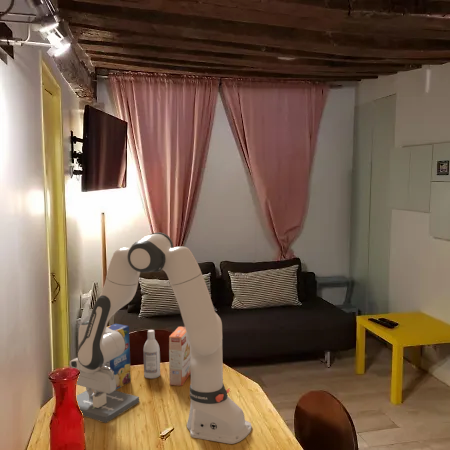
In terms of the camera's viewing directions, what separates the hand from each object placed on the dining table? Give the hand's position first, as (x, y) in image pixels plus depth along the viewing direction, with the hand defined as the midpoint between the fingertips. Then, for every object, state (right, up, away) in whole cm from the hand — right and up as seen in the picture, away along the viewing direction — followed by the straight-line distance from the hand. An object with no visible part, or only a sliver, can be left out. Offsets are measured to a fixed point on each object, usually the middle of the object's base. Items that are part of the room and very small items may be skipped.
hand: (93, 399), depth 181 cm
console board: (+2, -4, +3) cm, 5 cm away
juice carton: (+3, -2, +21) cm, 21 cm away
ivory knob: (+3, -2, -1) cm, 3 cm away
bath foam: (+17, -1, +30) cm, 35 cm away
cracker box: (+30, -1, +26) cm, 40 cm away
